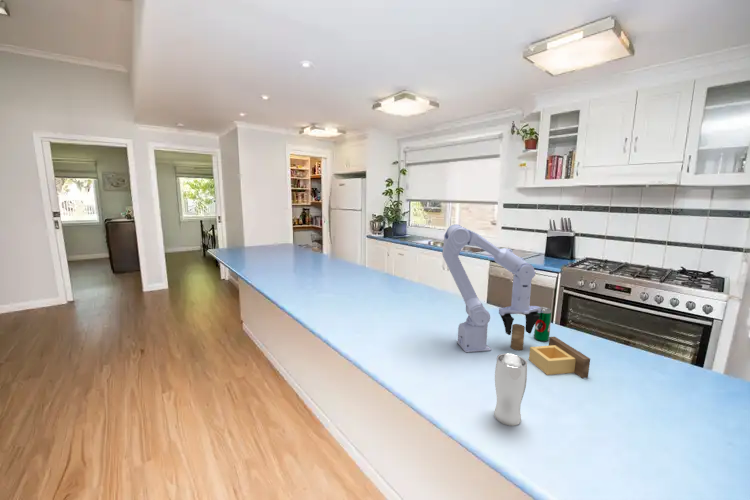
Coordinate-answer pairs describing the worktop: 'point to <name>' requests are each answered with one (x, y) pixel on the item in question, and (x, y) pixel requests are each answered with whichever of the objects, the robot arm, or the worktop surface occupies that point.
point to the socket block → (552, 360)
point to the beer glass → (509, 388)
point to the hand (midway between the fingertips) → (518, 333)
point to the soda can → (543, 325)
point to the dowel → (517, 337)
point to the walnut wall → (581, 359)
